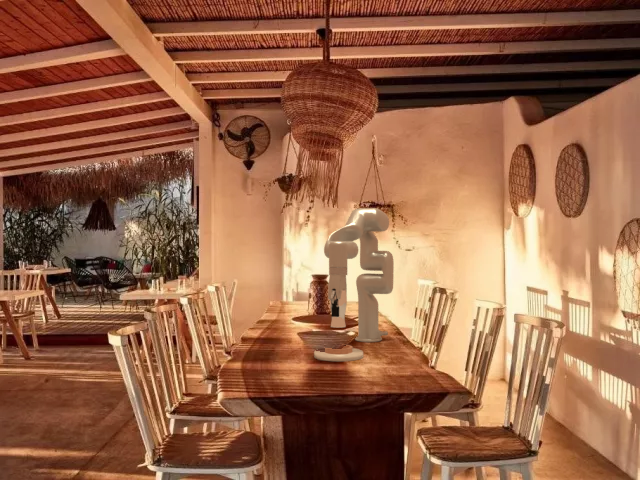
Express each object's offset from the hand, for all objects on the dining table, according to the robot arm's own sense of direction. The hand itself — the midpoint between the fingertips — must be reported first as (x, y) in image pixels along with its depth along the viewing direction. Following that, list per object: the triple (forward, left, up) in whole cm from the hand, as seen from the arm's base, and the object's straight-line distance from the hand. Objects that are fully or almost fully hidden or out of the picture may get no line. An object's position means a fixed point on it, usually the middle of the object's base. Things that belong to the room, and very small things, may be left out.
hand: (338, 315), depth 246 cm
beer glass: (0, 0, -5) cm, 5 cm away
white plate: (0, 0, -17) cm, 17 cm away
